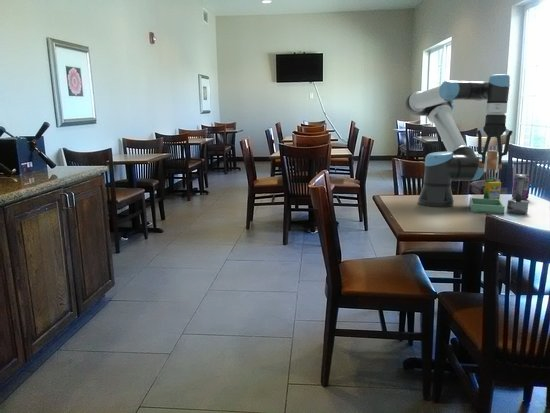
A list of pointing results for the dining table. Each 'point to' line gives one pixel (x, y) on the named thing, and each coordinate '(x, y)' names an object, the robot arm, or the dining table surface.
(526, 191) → the beverage can
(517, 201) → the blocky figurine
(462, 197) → the dining table surface
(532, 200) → the dining table surface
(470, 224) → the dining table surface
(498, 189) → the crayon box
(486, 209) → the tray
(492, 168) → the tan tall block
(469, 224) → the dining table surface
